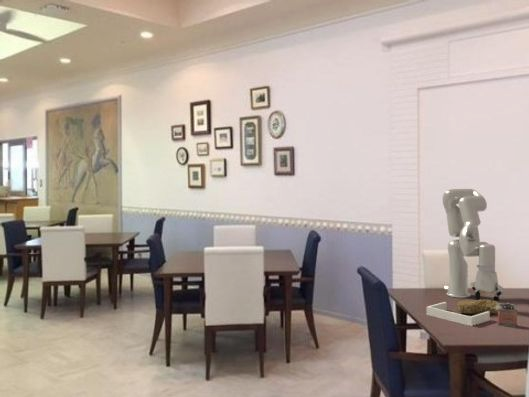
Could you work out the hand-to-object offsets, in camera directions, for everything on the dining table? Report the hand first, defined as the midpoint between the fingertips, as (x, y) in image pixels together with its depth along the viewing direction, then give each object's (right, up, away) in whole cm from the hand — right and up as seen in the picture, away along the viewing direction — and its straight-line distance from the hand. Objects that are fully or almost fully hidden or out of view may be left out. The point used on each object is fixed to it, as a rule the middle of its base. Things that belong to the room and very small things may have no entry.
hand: (486, 302), depth 258 cm
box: (-21, -4, -15) cm, 26 cm away
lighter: (-3, -5, -28) cm, 29 cm away
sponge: (-8, -4, -8) cm, 12 cm away
